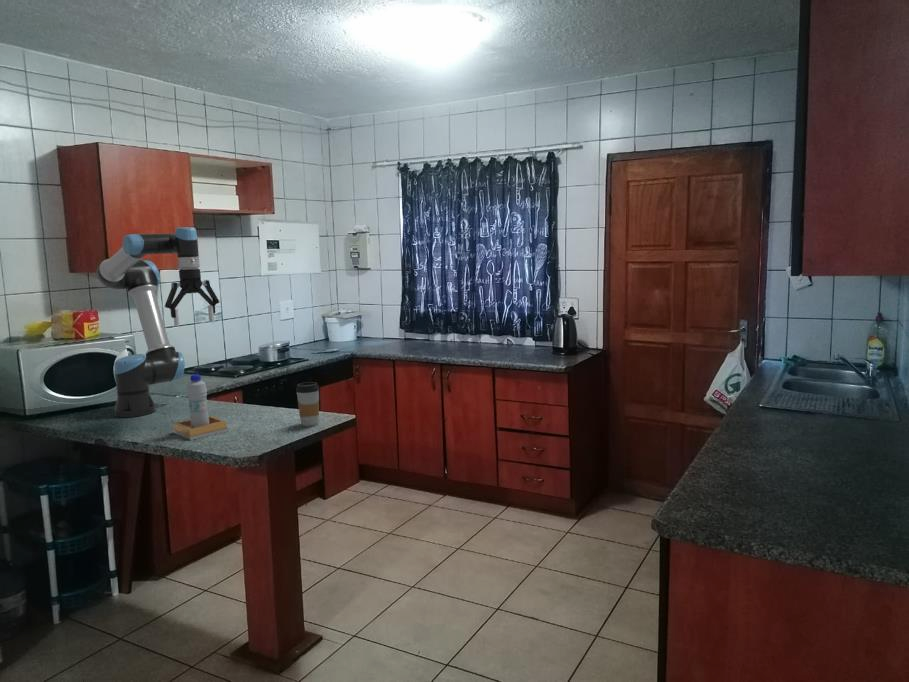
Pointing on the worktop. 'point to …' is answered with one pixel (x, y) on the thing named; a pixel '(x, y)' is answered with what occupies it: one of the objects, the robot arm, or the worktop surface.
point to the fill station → (200, 428)
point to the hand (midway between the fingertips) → (194, 324)
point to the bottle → (197, 401)
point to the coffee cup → (308, 403)
